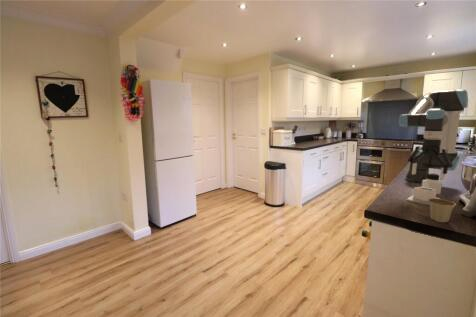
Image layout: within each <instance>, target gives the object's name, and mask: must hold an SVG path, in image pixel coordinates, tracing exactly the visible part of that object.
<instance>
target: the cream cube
mask: <svg viewBox="0 0 476 317" xmlns="http://www.w3.org/2000/svg"><path fill="white" fill-rule="evenodd" d="M424 189H428V190H424ZM436 192H437V190H435V189H431V188H427V187H422V186H417V187H414V188H413V193H412V195H413V198H416V199H419V200H422V201H428V199H431V198H437V194H436Z"/></svg>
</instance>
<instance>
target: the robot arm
mask: <svg viewBox="0 0 476 317" xmlns="http://www.w3.org/2000/svg"><path fill="white" fill-rule="evenodd" d="M468 97H469V93H468V91H467V89H450V90H436V91H435V90H434V91H432V92H429V93H426V94H424V95H422V96H420V97H419V98H418V99H417V100H416V104H414V106H413V107H412V109H411V110H410V111H408V113H404V114H402V113H401V114H400V115H399V118H398V125H399V126H400V127H408V128H409V127H410V128H411V127H412V128H413V127H416V128H417V127H418V128H420V127H421V128H424V131H423V139H422V146H419V145H417V146H415V149H414V150H413V151H411V152H410V156H409V157H408V159H407V162H409V169H408V171H407V173H406V175H405V178H404V180H406V181H407V182H408V181H409V182H412V183H417V184H418V183H419V184H422V180H426V176H427V174H428V173H430V169H433V170H440V174H439V181H442V180H445V177H446V175H447V174H448V171H449V172H450V171H451V172H453V171H455V170H456V169H457V166H458V165H459V162H460V158H461V154H458V150H457V149H456V146H457V145H456V144H457V139H458V138H457V137H458V131H459V124H460V115H461V114H462V113H463V112H464V111H465V109H466V108H468V106H469V104H468V103H469V98H468Z"/></svg>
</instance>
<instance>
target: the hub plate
mask: <svg viewBox="0 0 476 317" xmlns="http://www.w3.org/2000/svg"><path fill="white" fill-rule="evenodd" d="M424 190H428V189H424ZM436 199H442V198H441V197H436ZM406 201H407V202H411V203H415V204H420V205H424V206H429V207H430V204H429V201H422V200H419V199H416V198H413V194H412V195H411V196H409V197H408V198H407V199H406Z"/></svg>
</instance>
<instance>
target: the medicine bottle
mask: <svg viewBox="0 0 476 317" xmlns="http://www.w3.org/2000/svg"><path fill="white" fill-rule="evenodd" d="M442 185H443V183H442V182H440V174H438V173H431V172H429V173H428V174H427V176H426V180H422V183H421V187H427V188H431V189H435V190H437V192H436V195H441V194H442V187H443V186H442Z"/></svg>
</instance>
